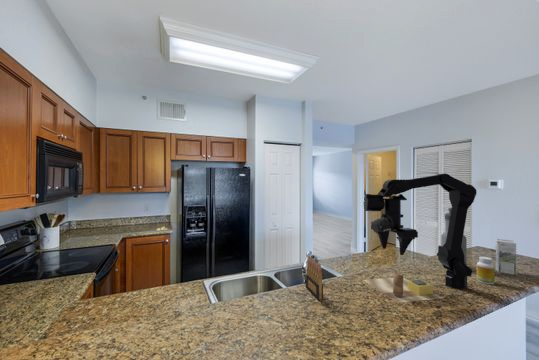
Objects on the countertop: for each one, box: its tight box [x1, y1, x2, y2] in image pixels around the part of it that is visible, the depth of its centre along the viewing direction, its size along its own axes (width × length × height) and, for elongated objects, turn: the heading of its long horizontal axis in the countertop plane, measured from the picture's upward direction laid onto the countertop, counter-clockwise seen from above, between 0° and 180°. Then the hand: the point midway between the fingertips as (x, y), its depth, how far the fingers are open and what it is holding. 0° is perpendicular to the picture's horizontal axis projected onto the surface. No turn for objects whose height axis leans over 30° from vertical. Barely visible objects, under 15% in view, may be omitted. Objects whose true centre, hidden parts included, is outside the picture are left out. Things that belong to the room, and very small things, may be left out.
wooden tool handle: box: [392, 273, 404, 297], centre depth 84 cm, size 3×3×7 cm
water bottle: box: [440, 207, 468, 266], centre depth 118 cm, size 10×10×28 cm
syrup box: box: [495, 238, 517, 276], centre depth 111 cm, size 6×6×14 cm
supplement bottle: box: [476, 256, 496, 285], centre depth 99 cm, size 5×5×10 cm
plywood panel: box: [363, 277, 444, 304], centre depth 90 cm, size 18×19×1 cm
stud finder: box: [407, 279, 434, 295], centre depth 87 cm, size 6×5×4 cm
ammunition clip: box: [305, 255, 324, 301], centre depth 87 cm, size 11×2×12 cm, turn 14°
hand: (392, 251), depth 96 cm, fingers open, 9 cm apart
